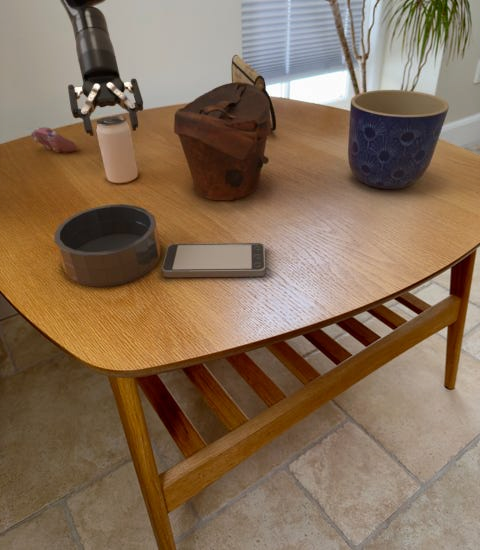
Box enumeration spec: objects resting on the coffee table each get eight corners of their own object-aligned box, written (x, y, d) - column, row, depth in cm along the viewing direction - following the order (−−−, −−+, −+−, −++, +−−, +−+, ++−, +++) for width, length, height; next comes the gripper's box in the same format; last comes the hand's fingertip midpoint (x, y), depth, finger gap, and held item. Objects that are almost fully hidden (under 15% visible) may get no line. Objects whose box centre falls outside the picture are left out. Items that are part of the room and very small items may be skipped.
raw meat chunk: (42, 153, 108) (23, 132, 102) (54, 140, 110) (36, 118, 104) (68, 161, 104) (49, 139, 98) (79, 147, 105) (61, 125, 99)
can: (118, 187, 88) (106, 127, 81) (101, 178, 91) (87, 121, 84) (144, 176, 92) (134, 119, 84) (126, 169, 95) (115, 113, 88)
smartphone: (265, 270, 62) (161, 271, 62) (265, 276, 62) (162, 277, 63) (264, 242, 68) (168, 243, 68) (263, 248, 68) (169, 249, 69)
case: (183, 216, 78) (172, 114, 67) (178, 171, 93) (168, 83, 83) (281, 206, 80) (284, 106, 69) (260, 164, 95) (260, 77, 85)
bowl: (50, 288, 62) (38, 256, 58) (80, 234, 73) (72, 205, 70) (152, 285, 62) (146, 253, 58) (166, 232, 73) (162, 203, 70)
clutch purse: (282, 140, 108) (285, 75, 98) (255, 142, 106) (255, 77, 97) (253, 106, 131) (253, 51, 122) (231, 109, 130) (229, 53, 121)
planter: (356, 158, 97) (366, 85, 88) (436, 172, 90) (456, 95, 81) (329, 187, 85) (337, 108, 76) (418, 206, 78) (439, 121, 69)
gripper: (57, 50, 85) (73, 126, 83) (131, 44, 88) (148, 117, 86) (64, 73, 92) (79, 144, 90) (132, 67, 95) (148, 135, 93)
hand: (113, 131), depth 88 cm, fingers open, 8 cm apart
